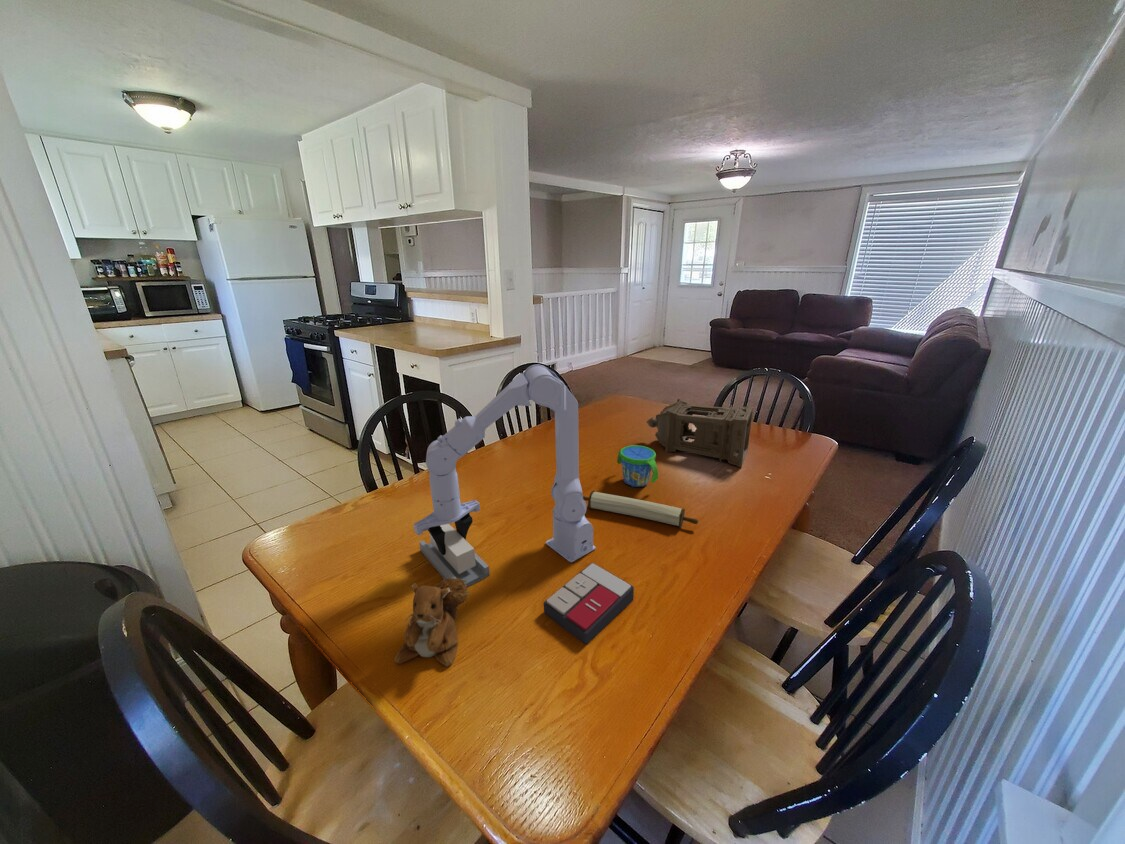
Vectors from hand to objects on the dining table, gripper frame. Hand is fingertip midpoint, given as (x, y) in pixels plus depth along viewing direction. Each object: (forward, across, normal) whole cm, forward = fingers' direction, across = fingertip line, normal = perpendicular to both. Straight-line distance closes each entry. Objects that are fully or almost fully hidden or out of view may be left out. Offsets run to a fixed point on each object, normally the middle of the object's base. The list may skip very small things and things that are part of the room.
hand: (451, 548), depth 96 cm
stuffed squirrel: (+4, +12, +17) cm, 21 cm away
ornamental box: (+4, -94, -1) cm, 95 cm away
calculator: (+5, -15, +29) cm, 33 cm away
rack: (+4, 0, 0) cm, 4 cm away
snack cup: (+4, -60, +2) cm, 60 cm away
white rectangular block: (+2, 0, 0) cm, 2 cm away
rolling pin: (+4, -46, +14) cm, 48 cm away
